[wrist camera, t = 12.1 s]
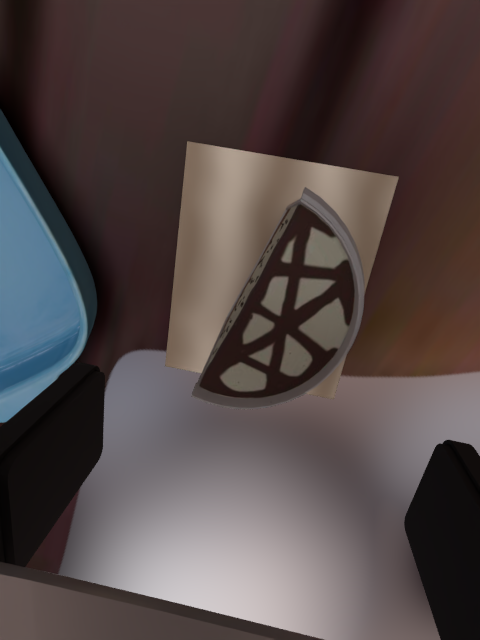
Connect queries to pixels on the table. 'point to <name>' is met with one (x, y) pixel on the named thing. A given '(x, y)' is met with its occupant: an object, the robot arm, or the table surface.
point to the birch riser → (253, 235)
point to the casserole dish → (36, 283)
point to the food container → (289, 313)
